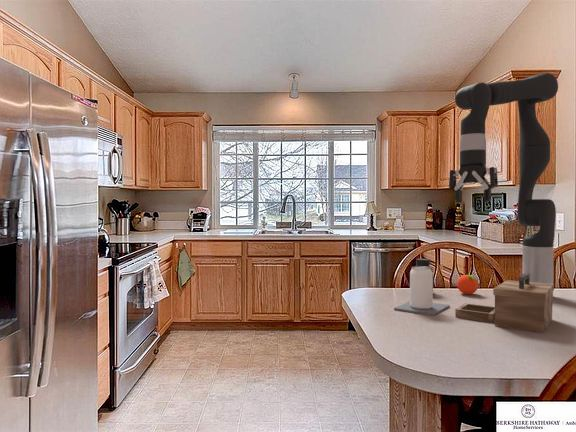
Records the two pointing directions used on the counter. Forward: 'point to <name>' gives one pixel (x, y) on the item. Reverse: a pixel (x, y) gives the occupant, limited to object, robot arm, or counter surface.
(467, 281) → the clementine
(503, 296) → the toolbox
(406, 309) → the mat
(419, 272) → the can
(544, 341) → the counter surface
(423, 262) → the supplement bottle
